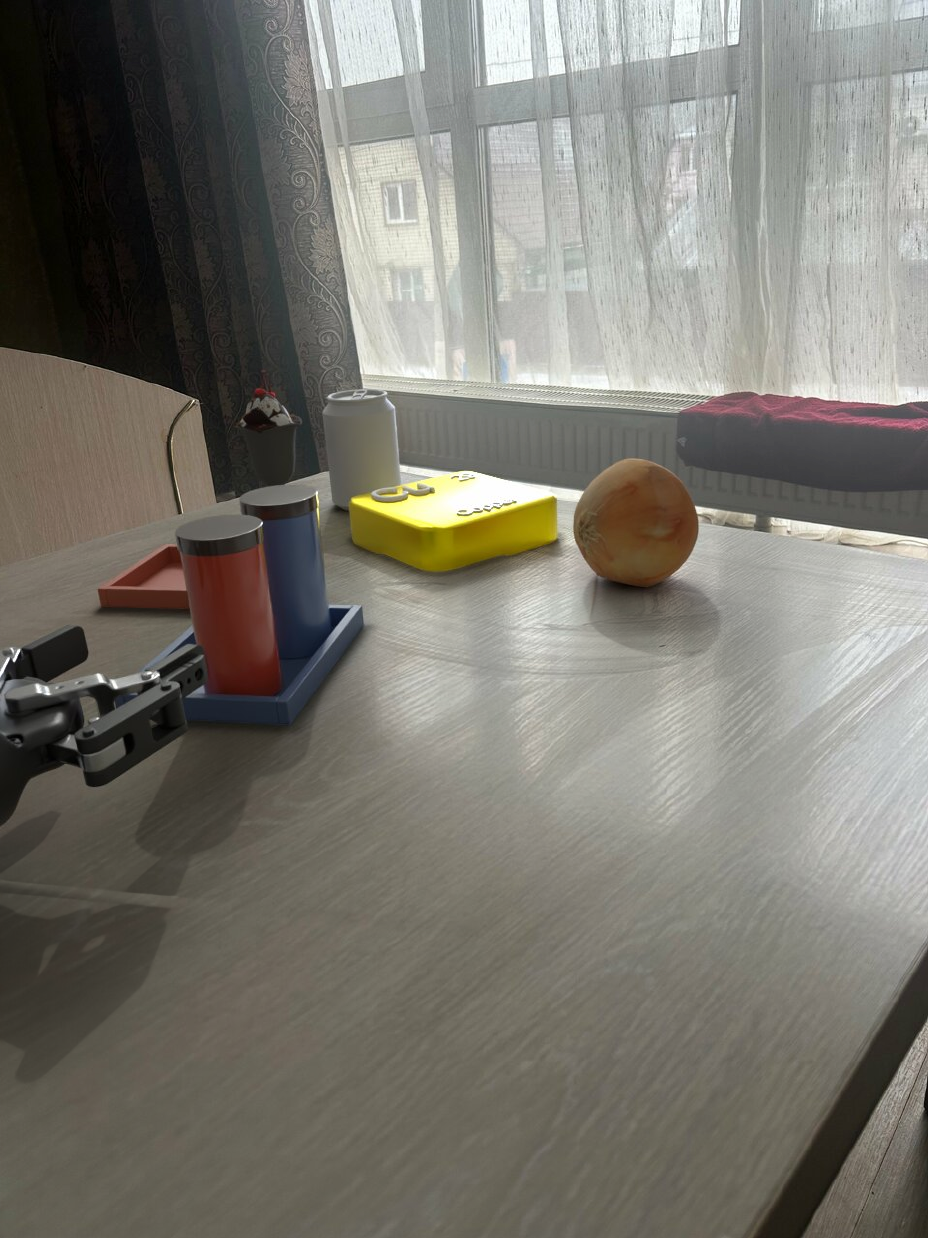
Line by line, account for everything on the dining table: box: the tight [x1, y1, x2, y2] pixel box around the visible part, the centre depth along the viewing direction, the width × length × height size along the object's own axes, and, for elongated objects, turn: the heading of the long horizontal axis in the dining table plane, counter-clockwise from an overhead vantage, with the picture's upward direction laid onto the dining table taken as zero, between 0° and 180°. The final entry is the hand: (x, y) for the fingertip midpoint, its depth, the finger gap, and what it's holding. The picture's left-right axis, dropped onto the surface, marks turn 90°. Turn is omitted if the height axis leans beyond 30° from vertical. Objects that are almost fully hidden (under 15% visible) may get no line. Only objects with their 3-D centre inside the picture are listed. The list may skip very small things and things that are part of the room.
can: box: [321, 388, 402, 512], centre depth 102 cm, size 8×8×12 cm
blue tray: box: [114, 604, 365, 726], centre depth 66 cm, size 11×15×2 cm
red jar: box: [174, 514, 283, 697], centre depth 60 cm, size 5×5×11 cm
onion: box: [572, 457, 700, 588], centre depth 76 cm, size 10×10×10 cm
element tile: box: [348, 470, 559, 573], centre depth 90 cm, size 15×15×5 cm
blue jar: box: [238, 484, 332, 659], centre depth 67 cm, size 5×5×11 cm
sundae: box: [234, 369, 303, 487], centre depth 98 cm, size 7×7×15 cm
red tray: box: [97, 543, 190, 610], centre depth 82 cm, size 12×11×2 cm
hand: (139, 650), depth 53 cm, fingers open, 8 cm apart
